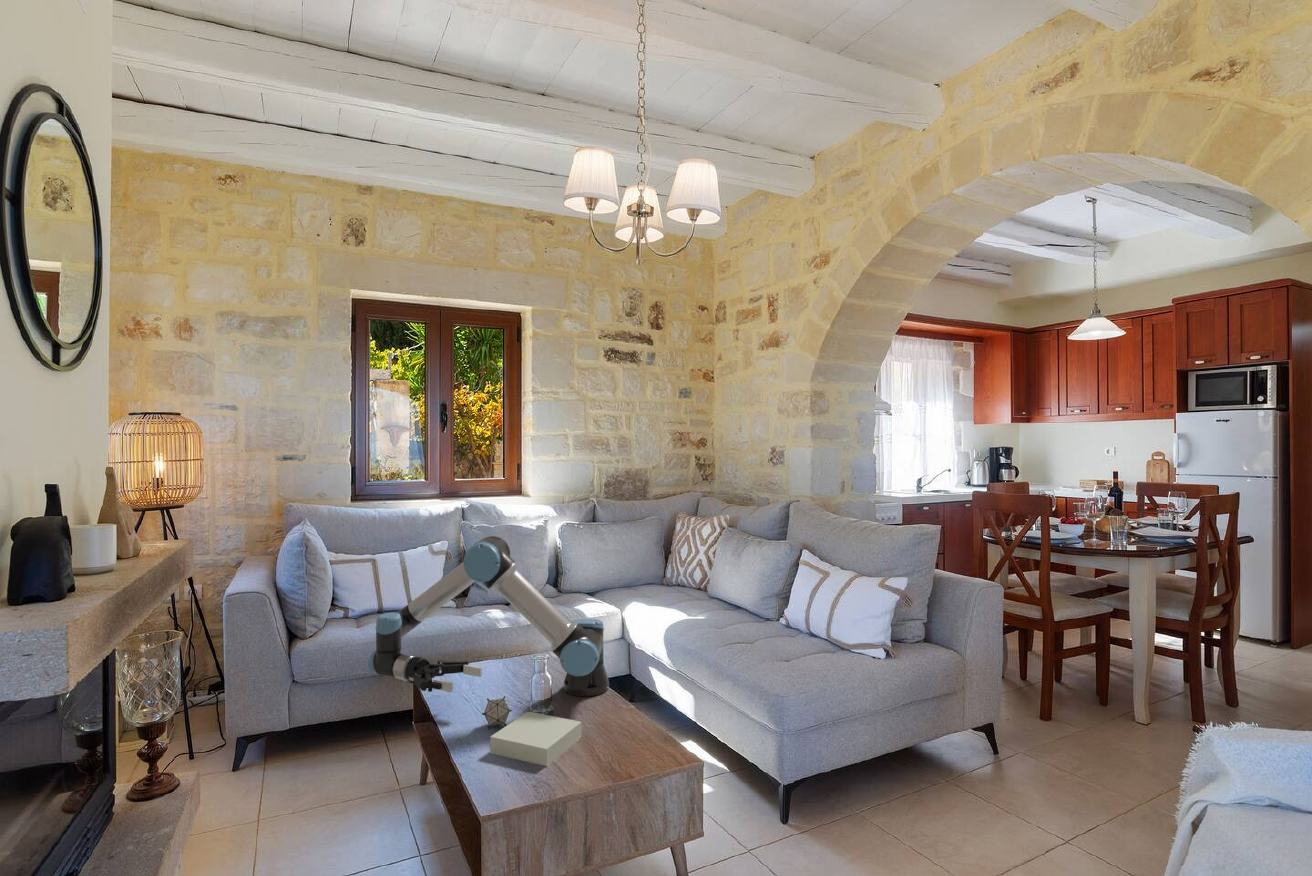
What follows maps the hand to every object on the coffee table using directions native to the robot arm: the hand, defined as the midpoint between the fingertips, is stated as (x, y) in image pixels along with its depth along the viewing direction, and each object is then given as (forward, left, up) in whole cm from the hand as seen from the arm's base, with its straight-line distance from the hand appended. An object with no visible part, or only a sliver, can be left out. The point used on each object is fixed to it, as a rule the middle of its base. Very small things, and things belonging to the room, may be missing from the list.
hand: (467, 679), depth 210 cm
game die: (0, +11, -12) cm, 16 cm away
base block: (+6, +29, -13) cm, 32 cm away
